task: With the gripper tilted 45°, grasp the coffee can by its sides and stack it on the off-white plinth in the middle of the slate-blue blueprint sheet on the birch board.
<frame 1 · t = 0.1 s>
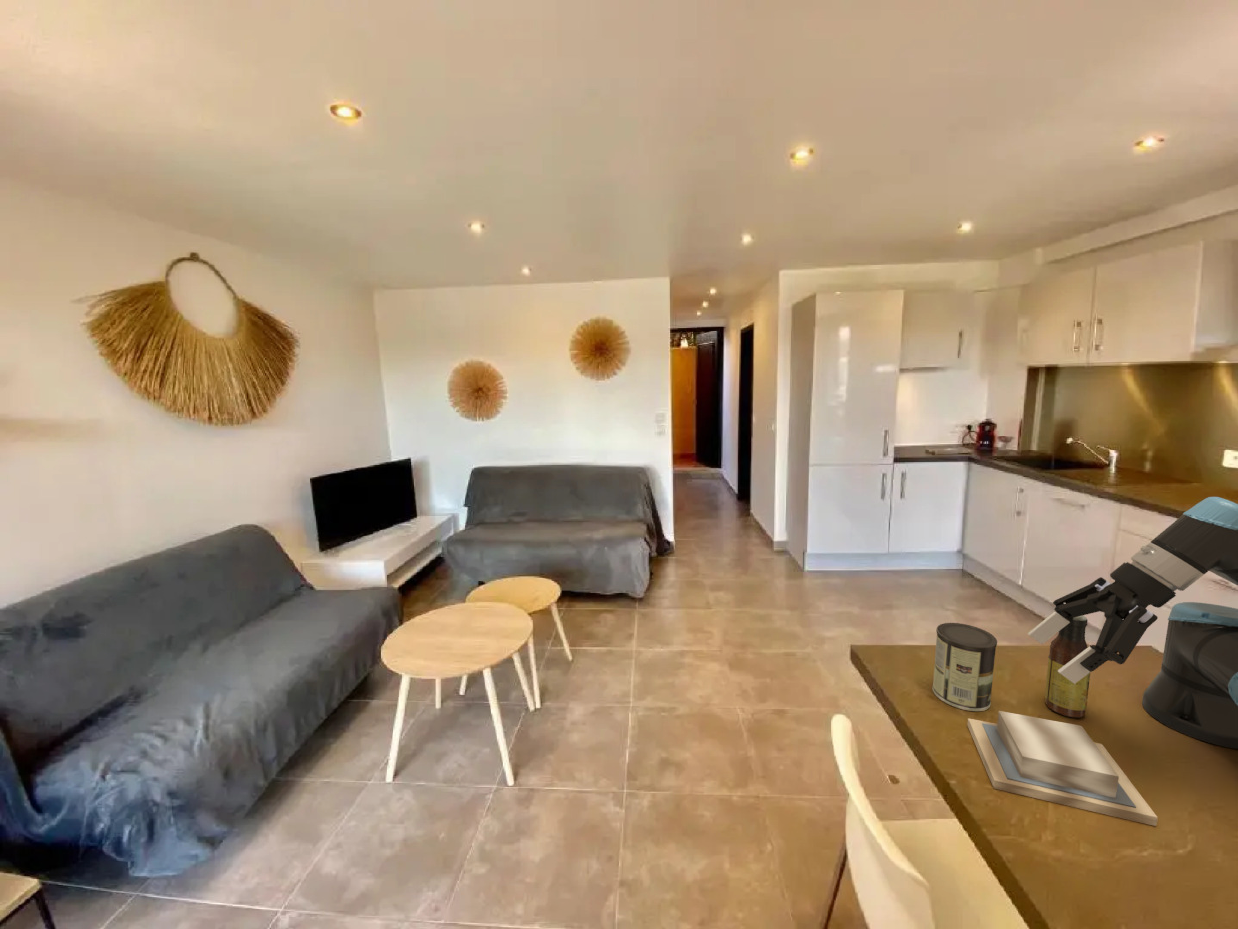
hand: (1049, 657, 91), 15 cm above the table, tool tilted 35°, fingers open, 13 cm apart
sauce bottle: (1063, 709, 99), on the table
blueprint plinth: (1049, 769, 84), on the table
coffee can: (960, 696, 104), on the table
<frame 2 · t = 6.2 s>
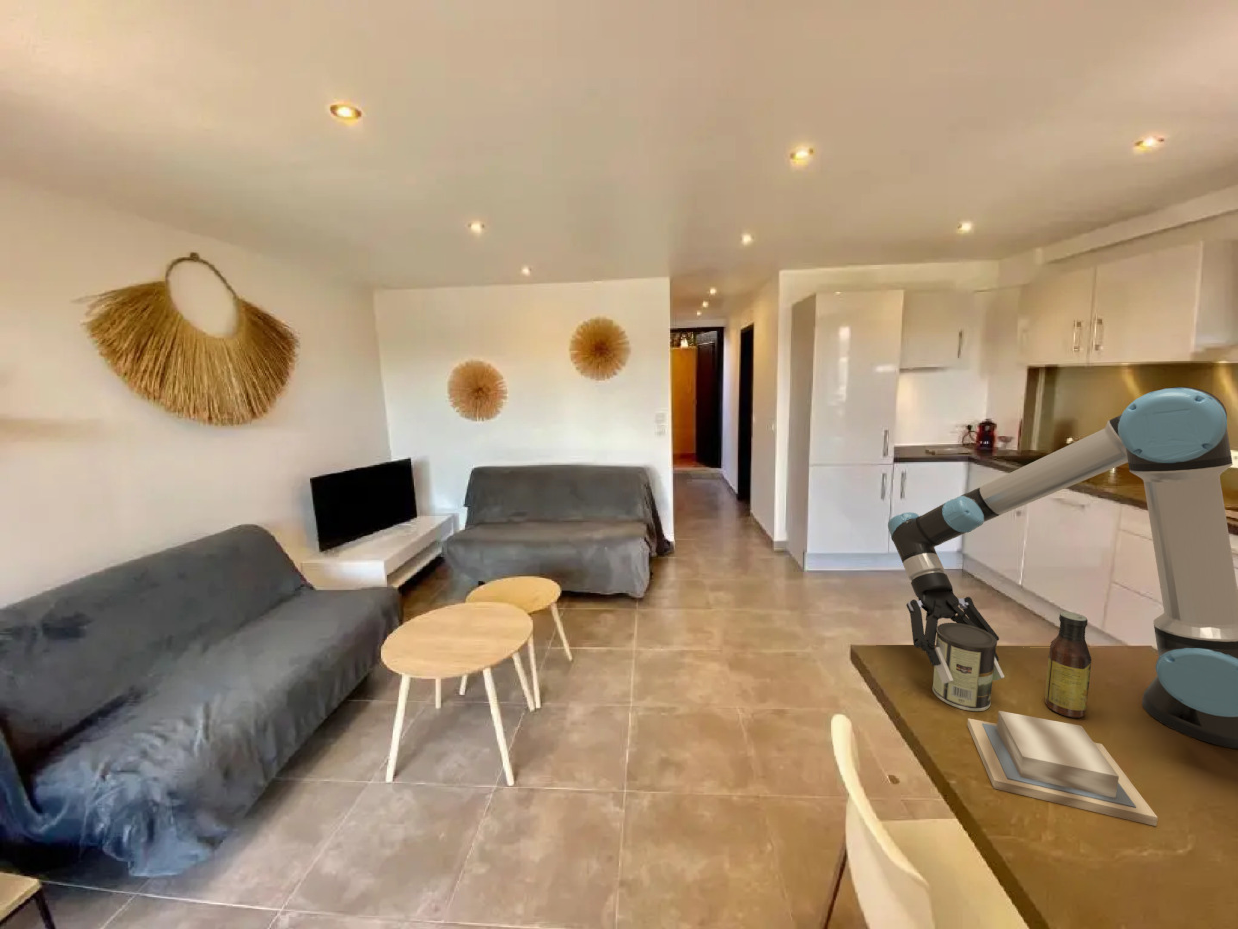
hand: (973, 680, 100), 6 cm above the table, tool tilted 45°, fingers closed on coffee can, 10 cm apart
coffee can: (960, 696, 104), on the table, touching gripper
everything else where it was.
when the fingers open (12 cm above the table, at t = 12.2 s): coffee can drops 1 cm, resting on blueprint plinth.
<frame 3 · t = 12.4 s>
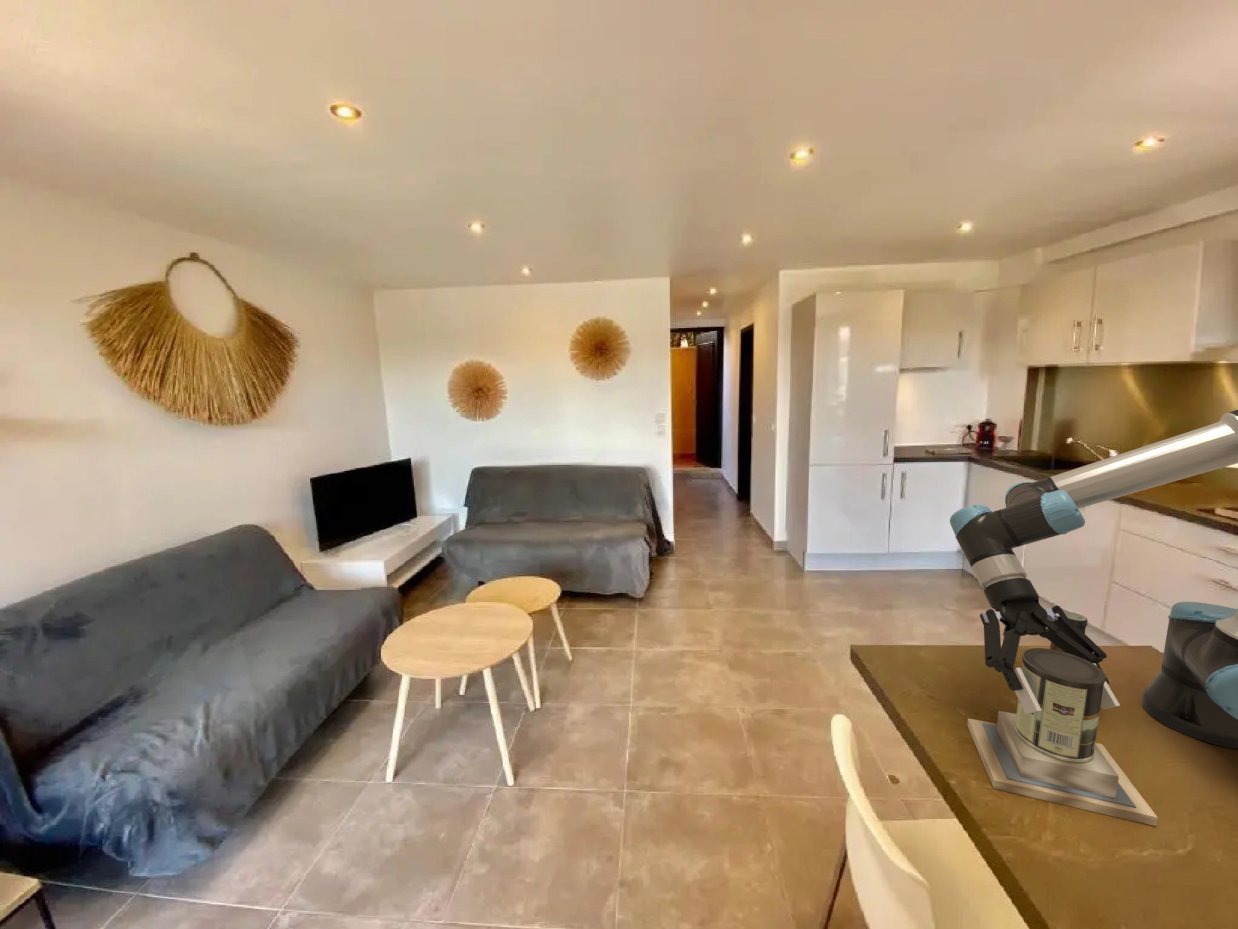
hand: (1072, 710, 80), 13 cm above the table, tool tilted 45°, fingers open, 12 cm apart
coffee can: (1051, 741, 84), point 5 cm above the table, touching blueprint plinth
everything else where it was.
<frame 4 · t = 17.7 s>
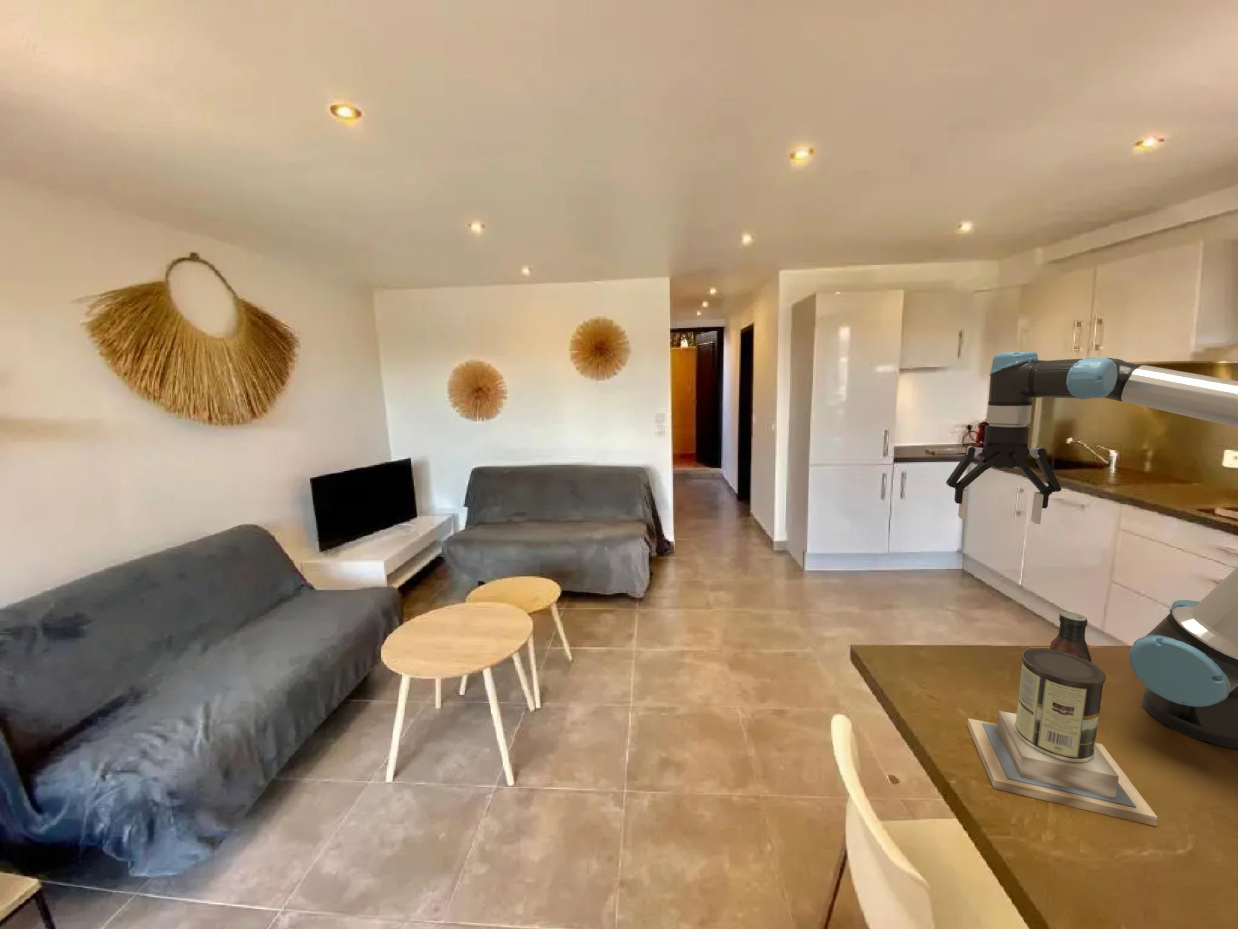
hand: (997, 520, 110), 35 cm above the table, tool pointing down, fingers open, 13 cm apart
nothing on the table moved.
at the end: coffee can inside the target area on the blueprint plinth (0.1 cm from its centre), point 5.3 cm above the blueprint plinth's base; coffee can tilted 0°; the gripper is holding nothing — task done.
